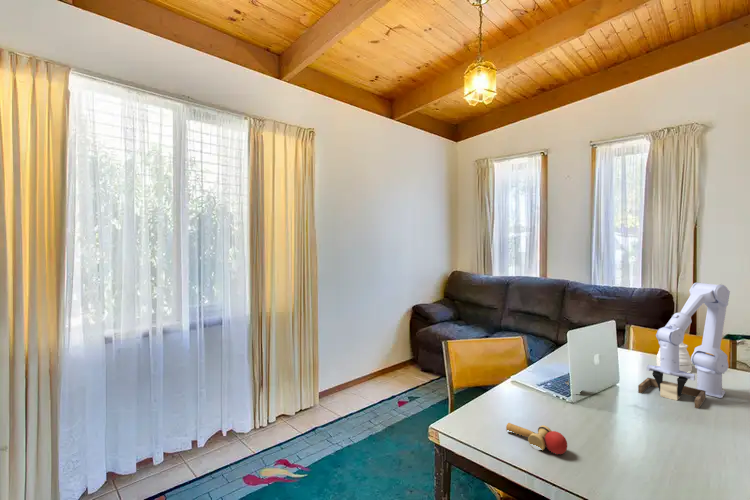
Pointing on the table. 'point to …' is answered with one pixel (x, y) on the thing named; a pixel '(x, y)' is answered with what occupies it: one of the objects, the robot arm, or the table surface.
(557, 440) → the kendama
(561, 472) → the table surface
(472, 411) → the table surface
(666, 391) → the maple block
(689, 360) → the honey pot
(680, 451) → the table surface
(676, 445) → the table surface
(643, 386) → the open walnut frame
